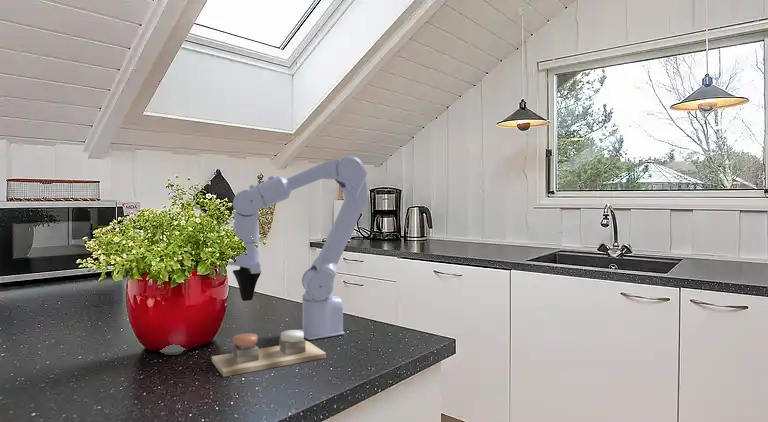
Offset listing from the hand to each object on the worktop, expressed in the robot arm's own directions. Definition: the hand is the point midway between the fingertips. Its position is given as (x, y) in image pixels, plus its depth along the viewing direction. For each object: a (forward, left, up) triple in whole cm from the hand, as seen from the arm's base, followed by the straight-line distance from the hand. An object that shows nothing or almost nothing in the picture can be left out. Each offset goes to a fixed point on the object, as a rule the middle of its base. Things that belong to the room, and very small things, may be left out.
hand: (247, 300), depth 118 cm
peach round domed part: (+5, +16, -8) cm, 18 cm away
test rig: (0, +16, -9) cm, 19 cm away
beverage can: (+16, 0, -10) cm, 19 cm away
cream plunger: (-5, +16, -8) cm, 19 cm away
